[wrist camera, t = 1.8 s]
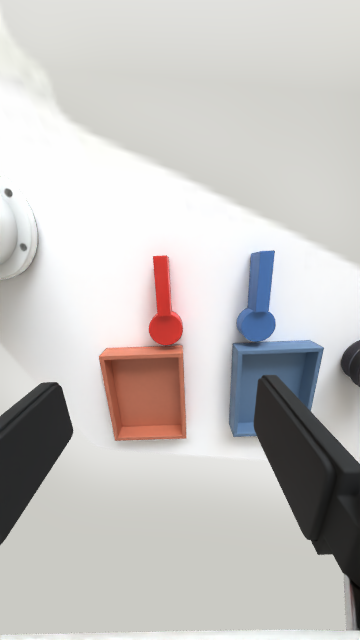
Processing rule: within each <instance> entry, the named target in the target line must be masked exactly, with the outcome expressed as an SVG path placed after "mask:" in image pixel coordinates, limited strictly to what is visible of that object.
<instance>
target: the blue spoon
mask: <svg viewBox="0 0 360 640" xmlns="http://www.w3.org/2000/svg"><path fill="white" fill-rule="evenodd" d="M274 252H275V251H260V252H256V253H252V254H251V265H250V280H249V294H248V308H246V309H244V310H243V311H242V312H241V313H240V314H239V316H238V318H237V328H238V330H239V332H240V333H241V334H242V335H243V336H244V337H245V338H246V339H248V340H250V341H253V342H259V341H263V340H265V339H267V338H268V337H269V336H271V334H272V333H273V331H274V329H275V319H274V316H273V315H272V314H271V313H270V312H268V311H269V301H270V291H271V282H272V272H273V262H274Z"/></svg>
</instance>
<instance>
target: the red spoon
mask: <svg viewBox="0 0 360 640" xmlns="http://www.w3.org/2000/svg"><path fill="white" fill-rule="evenodd" d="M153 263H154V275H155V287H156V300H157V312H158V313H157V314H156V315H155V316H154V317H153V319H152V320H151V322H150V325H149V333H150V336H151V337H152V339H153V340H154V341H155V342H157V343H159V344H161V345H171V344H174V343H175V342H177V341H178V340H179V339H180V337H181V335H182V331H183V326H182V320H181V318H180V317H179V315H178V314H176V313H175V312H173V311H172V308H171V290H170V273H169V257H168V256H153Z"/></svg>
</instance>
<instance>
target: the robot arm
mask: <svg viewBox="0 0 360 640" xmlns="http://www.w3.org/2000/svg"><path fill="white" fill-rule="evenodd" d="M37 244H38V233H37V227H36V222H35V219H34V216H33V213H32V210H31V208H30V206H29V204H28V202H27V200H26V199H25V198H24V196H23V195H22V193H21V192H20V191H19V189H18V188H17V187H16V186H15V185H14V184H13V183H12V182H11V181H10V180H9V179H8V178H6V177H5V176H4V175H3V174H1V173H0V280H1V279H8V278H12V277H15V276H17V275H19V274H21V273H22V272H23V271H24V270H26V269H27V267H28V266H29V265H30V264H31V262H32V260H33V258H34V256H35V254H36V249H37ZM254 430H255V433H256V435H257V437H258V439H259V441H260V444H261V446H262V448H263V450H264V452H265V454H266V456H267V458H268V461H269V463H270V465H271V467H272V469H273V471H274V473H275V476H276V477H277V480H278V482H279V484H280V486H281V488H282V490H283V493H284V495H285V497H286V499H287V501H288V503H289V505H290V507H291V509H292V512H293V514H294V516H295V518H296V520H297V522H298V525H299V527H300V529H301V531H302V533H303V534H304V536H305V537H306V538H307V539H308V540H311V541H312V544H313V546H314V548H315V550H316V552H317V554H318V555H320V554H321V555H324V554H333V555H334V557H335V559H336V561H337V563H338V565H339V567H340V568H341V570H342V572H343V573H344V592H345V615H346V631H344V630H342V631H341V630H220V631H154V632H153V631H152V632H105V633H61V634H59V633H58V634H13V635H0V640H360V464H359V463H358V462H357V461H356V460H355V458H354V457H353V456H352V455H351V454H350V453H349V452H348V451H347V450H346V449H345V448H344V447H343V446H342V445H341V443H340V442H339V441H338V440H337V439H336V438H335V437H334V436H333V435H332V434H331V433H330V432H329V431H328V430H327V428H326V427H325V426H324V425H323V424H322V423H321V422H320V421H319V420H318V419H317V418H316V417H315V416H314V415H313V413H312V412H311V411H310V410H309V409H308V408H307V407H306V406H305V405H304V404H303V403H302V402H301V401H300V400H299V398H298V397H297V396H296V395H295V394H294V393H293V392H292V391H291V390H290V389H289V388H288V387H287V386H286V385H285V383H284V382H283V381H282V380H281V379H280V378H279V377H278V376H277V375H263V376H262V377H261V378H259V379H258V384H257V394H256V404H255V413H254ZM72 434H73V427H72V423H71V420H70V416H69V412H68V409H67V405H66V401H65V398H64V394H63V390H62V387H61V386H60V385H59V384H58V383H56V382H47V383H41V384H39V385H38V386H37V387H36V388H35V389H33V390H32V391H31V392H30V393H28V394H27V395H26V396H25V397H23V398H22V399H21V400H20V401H18V402H17V403H16V404H15V405H13V406H12V407H11V408H10V409H9V410H7V411H6V412H5V413H4V414H2V415H1V416H0V545H1V543H3V541H4V540H5V539H6V537H7V536H8V534H9V533H10V531H11V529H12V528H13V526H14V525H15V523H16V522H17V520H18V519H19V517H20V516H21V514H22V512H23V511H24V510H25V508H26V506H27V505H28V503H29V502H30V500H31V499H32V497H33V496H34V494H35V493H36V491H37V490H38V488H39V486H40V485H41V483H42V482H43V480H44V479H45V477H46V476H47V474H48V473H49V471H50V470H51V468H52V466H53V465H54V463H55V462H56V460H57V459H58V457H59V456H60V454H61V453H62V451H63V449H64V448H65V447H66V445H67V443H68V442H69V440H70V439H71V437H72Z"/></svg>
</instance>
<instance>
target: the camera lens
mask: <svg viewBox="0 0 360 640" xmlns="http://www.w3.org/2000/svg"><path fill="white" fill-rule="evenodd" d="M341 366H342V369H343V371H344V373H345V374H346V375H348V376H349V377H350V378H351V380H352V381H353V382H354V383H355V384H356V385H358V386H359V387H360V340H359V341H357V342H355V343H354V344H352V345H351V346H350V347H349V348H348V349H347V350H346V351H345V353H344V355H343V358H342V361H341Z"/></svg>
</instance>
